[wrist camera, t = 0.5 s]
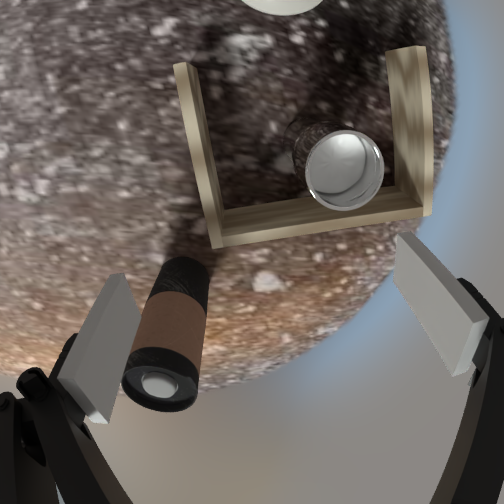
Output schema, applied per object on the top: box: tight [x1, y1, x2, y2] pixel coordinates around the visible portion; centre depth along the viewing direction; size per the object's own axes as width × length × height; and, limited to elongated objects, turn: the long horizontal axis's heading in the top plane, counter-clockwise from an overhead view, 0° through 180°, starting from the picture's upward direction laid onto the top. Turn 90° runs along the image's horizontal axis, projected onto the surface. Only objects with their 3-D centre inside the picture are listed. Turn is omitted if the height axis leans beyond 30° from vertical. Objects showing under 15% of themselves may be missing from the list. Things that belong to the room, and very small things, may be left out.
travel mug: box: [121, 257, 209, 412], centre depth 36 cm, size 8×8×20 cm
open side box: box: [173, 46, 433, 249], centre depth 33 cm, size 19×25×8 cm
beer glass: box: [283, 118, 384, 211], centre depth 30 cm, size 7×7×15 cm
